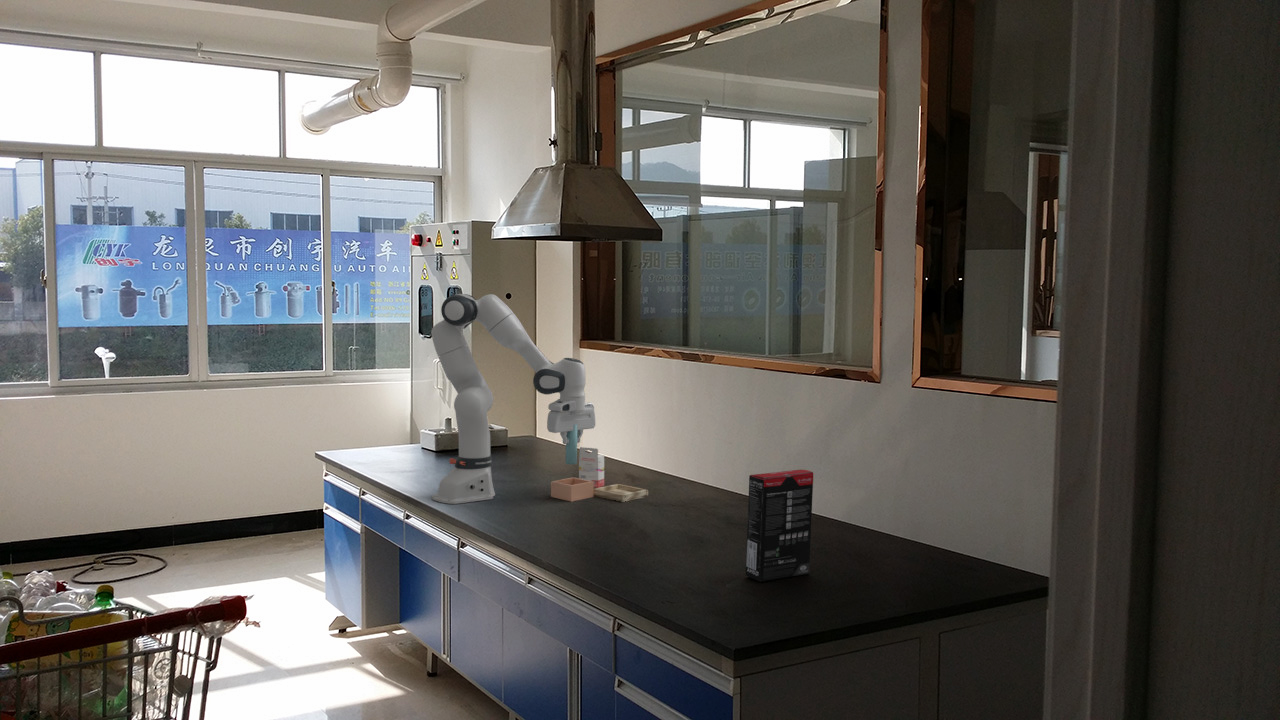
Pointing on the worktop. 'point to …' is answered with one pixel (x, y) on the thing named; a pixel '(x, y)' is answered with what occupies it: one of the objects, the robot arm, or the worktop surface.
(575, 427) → the teal peg
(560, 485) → the cup
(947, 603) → the worktop surface
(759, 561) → the graphics card box
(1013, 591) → the worktop surface
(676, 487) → the worktop surface
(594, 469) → the ink cartridge box
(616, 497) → the birch tray
